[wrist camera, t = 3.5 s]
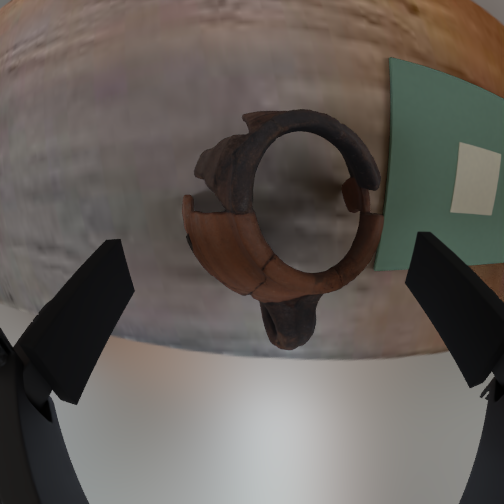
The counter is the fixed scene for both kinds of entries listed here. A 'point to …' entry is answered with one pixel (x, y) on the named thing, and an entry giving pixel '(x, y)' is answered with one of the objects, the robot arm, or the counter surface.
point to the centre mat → (442, 167)
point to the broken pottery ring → (249, 234)
